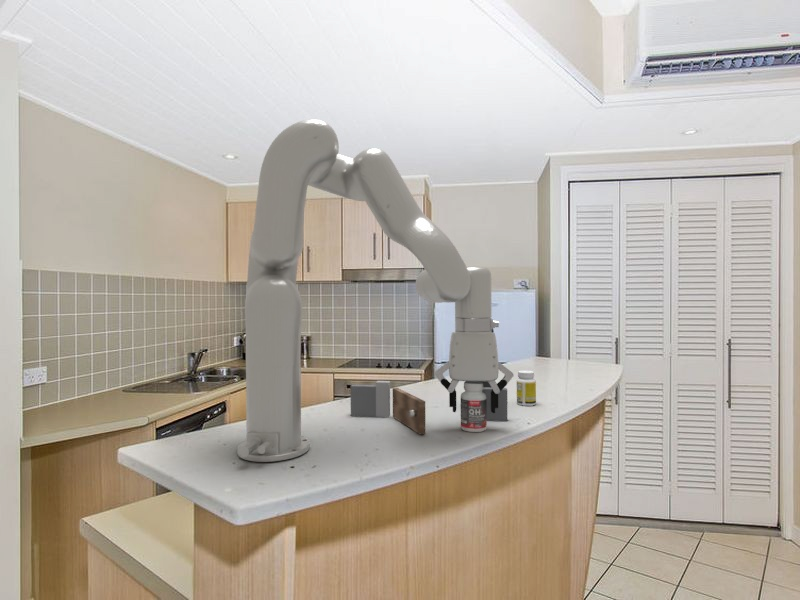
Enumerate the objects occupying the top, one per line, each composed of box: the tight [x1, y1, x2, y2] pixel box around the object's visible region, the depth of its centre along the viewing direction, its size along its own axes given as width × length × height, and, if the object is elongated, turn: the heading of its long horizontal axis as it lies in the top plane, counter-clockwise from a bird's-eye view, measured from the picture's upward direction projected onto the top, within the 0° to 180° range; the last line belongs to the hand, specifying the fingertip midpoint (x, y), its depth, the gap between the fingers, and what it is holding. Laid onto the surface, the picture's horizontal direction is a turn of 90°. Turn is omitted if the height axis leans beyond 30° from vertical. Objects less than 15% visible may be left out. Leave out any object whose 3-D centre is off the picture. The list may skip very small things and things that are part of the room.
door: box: [392, 387, 426, 435], centre depth 97 cm, size 15×2×6 cm, turn 22°
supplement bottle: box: [516, 369, 537, 407], centre depth 117 cm, size 5×5×8 cm
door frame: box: [350, 380, 508, 422], centre depth 104 cm, size 2×36×8 cm, turn 82°
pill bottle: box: [460, 381, 488, 433], centre depth 95 cm, size 5×5×10 cm
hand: (473, 410), depth 95 cm, fingers open, 7 cm apart
